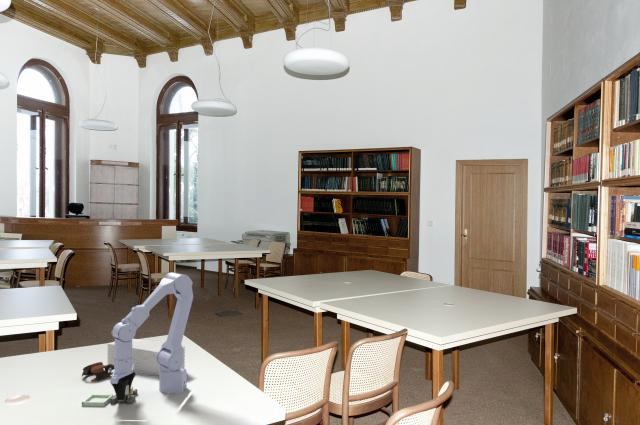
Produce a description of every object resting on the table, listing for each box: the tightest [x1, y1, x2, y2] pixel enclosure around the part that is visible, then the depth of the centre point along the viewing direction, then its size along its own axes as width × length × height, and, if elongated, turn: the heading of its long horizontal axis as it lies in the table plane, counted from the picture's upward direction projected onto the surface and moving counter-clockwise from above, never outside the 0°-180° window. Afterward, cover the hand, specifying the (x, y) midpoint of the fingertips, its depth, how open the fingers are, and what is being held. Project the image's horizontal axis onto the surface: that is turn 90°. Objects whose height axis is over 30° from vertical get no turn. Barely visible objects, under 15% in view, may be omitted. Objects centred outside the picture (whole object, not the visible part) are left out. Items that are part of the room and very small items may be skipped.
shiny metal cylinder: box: [117, 384, 130, 402], centre depth 166 cm, size 4×4×5 cm
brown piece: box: [81, 361, 114, 382], centre depth 190 cm, size 12×10×8 cm
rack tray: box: [81, 393, 114, 407], centre depth 166 cm, size 8×7×2 cm
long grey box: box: [106, 338, 186, 376], centre depth 203 cm, size 32×11×11 cm, turn 67°
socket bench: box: [109, 388, 138, 405], centre depth 170 cm, size 18×17×3 cm
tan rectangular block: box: [129, 386, 134, 396], centre depth 173 cm, size 4×2×2 cm, turn 89°
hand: (123, 397), depth 166 cm, fingers closed on shiny metal cylinder, 4 cm apart
